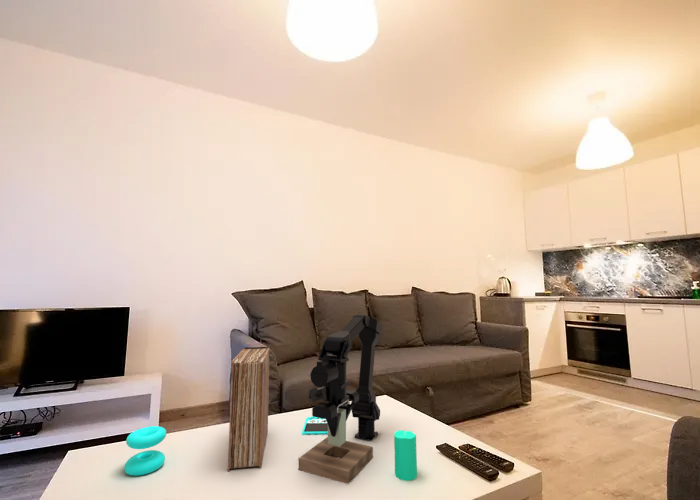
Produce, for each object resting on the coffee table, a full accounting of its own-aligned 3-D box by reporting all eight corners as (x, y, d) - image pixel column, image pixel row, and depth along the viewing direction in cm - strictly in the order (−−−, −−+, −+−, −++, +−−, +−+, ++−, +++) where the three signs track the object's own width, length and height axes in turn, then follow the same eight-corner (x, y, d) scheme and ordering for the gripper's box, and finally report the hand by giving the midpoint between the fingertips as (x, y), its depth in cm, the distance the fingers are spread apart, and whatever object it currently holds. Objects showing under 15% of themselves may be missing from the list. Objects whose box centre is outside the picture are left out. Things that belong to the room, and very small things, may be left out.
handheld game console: (332, 419, 134) (332, 415, 135) (330, 436, 119) (330, 432, 119) (306, 419, 134) (306, 415, 134) (301, 436, 118) (301, 432, 119)
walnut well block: (327, 446, 109) (327, 436, 110) (372, 457, 102) (372, 446, 103) (298, 469, 95) (298, 458, 96) (348, 483, 88) (348, 471, 88)
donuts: (163, 435, 95) (122, 441, 91) (161, 473, 94) (119, 480, 90) (169, 422, 104) (131, 427, 101) (167, 457, 103) (129, 463, 99)
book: (261, 469, 96) (263, 360, 99) (227, 472, 94) (231, 361, 98) (267, 432, 121) (269, 346, 124) (241, 434, 119) (243, 347, 123)
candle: (417, 481, 89) (415, 433, 90) (394, 479, 90) (393, 432, 92) (417, 470, 95) (415, 425, 96) (395, 468, 96) (394, 423, 97)
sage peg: (334, 438, 102) (334, 407, 103) (346, 441, 100) (345, 409, 102) (327, 443, 99) (327, 411, 100) (339, 446, 97) (339, 413, 98)
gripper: (329, 369, 114) (329, 418, 112) (296, 383, 97) (296, 440, 95) (359, 373, 109) (359, 424, 107) (330, 388, 92) (330, 448, 90)
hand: (337, 433), depth 100 cm, fingers closed on sage peg, 4 cm apart
